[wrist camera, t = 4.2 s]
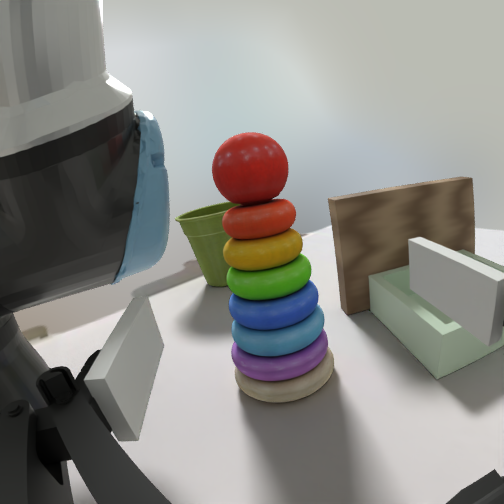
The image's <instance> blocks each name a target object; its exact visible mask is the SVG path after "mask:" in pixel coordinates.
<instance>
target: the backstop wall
mask: <svg viewBox="0 0 504 504" xmlns="http://www.w3.org/2000/svg"><path fill="white" fill-rule="evenodd" d="M328 203H329V209H330V216H331V223H332V231H333V238H334V246H335V254H336V263H337V272H338V281H339V291H340V301H341V308H342V309H343V311H344V312H345V313H346V314H347V315H350V314H354V313H357V312H361V311H364V310H368V309H370V293H369V277H368V276H369V275H373V274H377V273H381V272H385V271H388V270H392V269H396V268H399V267H403V266H407V265H409V245H408V239H412V238H417V237H422V238H424V239H427V240H429V241H432V242H434V243H437V244H439V245H442V246H444V247H446V248H449V249H451V250H453V251H459V250H462V249H463V250H466V251H468V252H471V253H473V254H475V220H474V219H475V217H474V195H473V182H472V178H469V177H456V178H450V179H442V180H435V181H429V182H422V183H416V184H409V185H403V186H396V187H390V188H384V189H378V190H372V191H366V192H361V193H355V194H349V195H343V196H338V197H333V198H328Z"/></svg>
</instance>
